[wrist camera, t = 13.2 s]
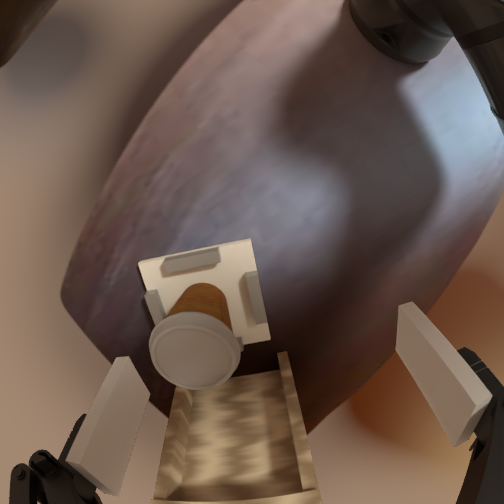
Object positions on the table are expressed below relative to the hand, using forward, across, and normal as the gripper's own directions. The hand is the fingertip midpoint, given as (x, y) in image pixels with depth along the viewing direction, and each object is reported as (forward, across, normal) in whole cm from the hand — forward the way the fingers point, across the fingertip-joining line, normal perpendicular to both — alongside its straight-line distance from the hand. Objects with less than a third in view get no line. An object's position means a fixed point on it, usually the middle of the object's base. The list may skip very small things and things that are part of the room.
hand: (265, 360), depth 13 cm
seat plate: (+25, -8, -9) cm, 28 cm away
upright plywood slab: (+24, -8, -22) cm, 34 cm away
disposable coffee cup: (+24, -9, -9) cm, 27 cm away
